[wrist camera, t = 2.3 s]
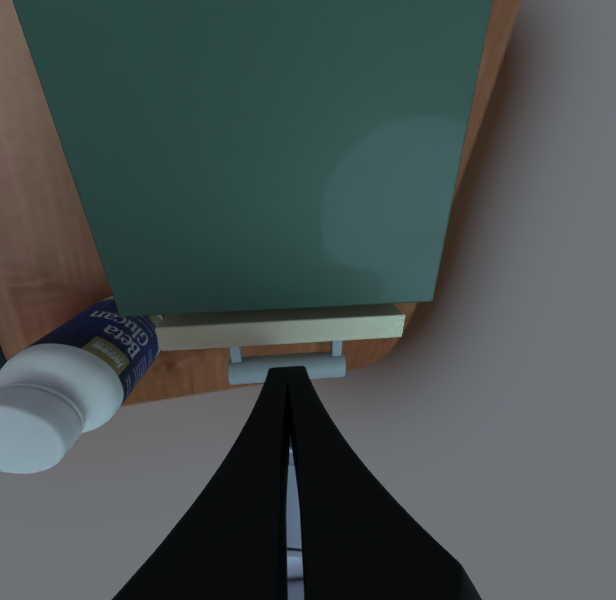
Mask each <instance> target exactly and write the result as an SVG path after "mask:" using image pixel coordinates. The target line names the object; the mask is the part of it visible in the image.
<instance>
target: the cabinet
mask: <svg viewBox="0 0 616 600" xmlns="http://www.w3.org/2000/svg"><path fill="white" fill-rule="evenodd" d="M492 1H493V0H13V3H14V6H15V9H16V12H17V15H18V18H19V21H20V24H21V27H22V30H23V33H24V36H25V39H26V41H27V44H28V47H29V50H30V53H31V56H32V59H33V62H34V65H35V68H36V71H37V74H38V77H39V80H40V83H41V86H42V88H43V91H44V94H45V97H46V100H47V103H48V106H49V109H50V112H51V115H52V118H53V121H54V124H55V127H56V130H57V133H58V135H59V138H60V141H61V144H62V147H63V150H64V153H65V156H66V159H67V162H68V165H69V168H70V171H71V174H72V177H73V180H74V182H75V185H76V188H77V191H78V194H79V197H80V200H81V203H82V206H83V209H84V212H85V215H86V218H87V221H88V224H89V227H90V229H91V232H92V235H93V238H94V241H95V244H96V247H97V250H98V253H99V256H100V259H101V262H102V265H103V268H104V271H105V273H106V276H107V279H108V282H109V285H110V288H111V291H112V294H113V297H114V300H115V303H116V306H117V309H118V312H119V315H120V316H121V317H125V316H146V315H166V314H186V313H207V312H227V311H247V310H268V309H288V308H308V307H329V306H349V305H369V304H390V303H410V302H430V301H432V300H433V296H434V291H435V286H436V281H437V275H438V270H439V266H440V261H441V256H442V250H443V245H444V240H445V236H446V231H447V226H448V221H449V216H450V211H451V206H452V201H453V196H454V191H455V186H456V181H457V176H458V171H459V166H460V161H461V156H462V151H463V146H464V141H465V136H466V131H467V126H468V121H469V116H470V111H471V106H472V101H473V96H474V91H475V86H476V81H477V76H478V71H479V66H480V61H481V56H482V51H483V46H484V41H485V36H486V31H487V26H488V21H489V16H490V11H491V6H492Z"/></svg>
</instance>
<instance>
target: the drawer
mask: <svg viewBox="0 0 616 600" xmlns="http://www.w3.org/2000/svg"><path fill="white" fill-rule="evenodd" d="M404 319H405V314H404V313H403V312H402V311H401V310H400V309H399V308H398V307H397V306H396V305H395V304H394V303H390V304H369V305H349V306H329V307H308V308H288V309H268V310H247V311H227V312H207V313H186V314H167V315H166V316H165V317H164V318H163V319H162V320H161V322H160V323H159V324H158V325H157V326H156V327H155V331H156V334H157V338H158V341H159V345H160V348H161V351H172V350H189V349H206V348H222V347H229V351H230V357H231V358H230V360H229V363H228V380H229V383H230V384H231V385H234V384H248V383H262V382H265V380H266V376H267V373H268V370H269V369H270V368H273V367H288V366H304V367H306V369H307V373H308V375H309V378H310V379H318V378H332V377H344V376H345V373H346V363H345V357H344V353H343V351H342V340H357V339H373V338H390V337H401V336H402V331H403V325H404ZM323 341H331V350H330V351H329V352H313V353H297V354H281V355H265V356H250V357H243V355H242V348H241V346H256V345H273V344H289V343H306V342H323Z"/></svg>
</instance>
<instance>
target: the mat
mask: <svg viewBox="0 0 616 600" xmlns="http://www.w3.org/2000/svg"><path fill="white" fill-rule="evenodd" d="M5 363H6V361H5V358H4V355H3V353H2V350H1V348H0V368H2V367H3V366H4V365H5Z"/></svg>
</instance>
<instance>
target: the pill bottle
mask: <svg viewBox="0 0 616 600" xmlns="http://www.w3.org/2000/svg"><path fill="white" fill-rule="evenodd" d="M162 319H163V317H162V315H146V316H125V317H121V316H120V315H119V312H118V309H117V306H116V303H115V300H114V297H113V296H111V297H108V298H105V299H103V300H101V301H99V302H97V303H96V304H94V305H92V306H91V307H89V308H88V309H86V310H85V311H83V312H82V313H80V314H78V315H77V316H75V317H74V318H72V319H71V320H69V321H68V322H66V323H64V324H63V325H61V326H60V327H58V328H57V329H55V330H54V331H52V332H51V333H49V334H47V335H46V336H44V337H42V338H41V339H39V340H37V341H36V342H35V343H33V344H32V345H30V346H28V347H27V348H25V349H24V350H22V351H21V352H19V353H18V354H17V355H15V356H14V357H12V358H11V359H10V360H9V361H7V362H6V363H5V365H4V366H3V367H2V368H1V370H0V471H3V472H8V473H19V474H26V473H35V472H41V471H44V470H46V469H49V468H51V467H53V466H54V465H56V464H57V463H58V462H59V461H60V460H61V459H62V458H63V457H64V455H65V454H66V453H67V452H68V451H69V449H70V448H71V447H72V446H73V445H74V443H76V441H77V440H78V438H79V437H80V435H81V434H82V433H85V432H89V431H91V430H94V429H96V428H98V427H100V426H102V425H103V424H105V423H106V422H107V421H108V420H110V419H111V418H112V416H113V415H114V414H115V413H116V412H117V411H118V409H119V408H120V407H121V405H122V404H123V403H124V401H125V400H126V398H127V397H128V396H129V394H130V393H131V392H132V390H133V389H134V388H135V386H136V385H137V383H138V382H139V380H140V379H141V378H142V376H143V375H144V374H145V372H146V371H147V370H148V368H149V367H150V366H151V364H152V363H153V361H154V360H155V359H156V357H157V356H158V355H159V353H160V352H161V348H160V345H159V341H158V338H157V334H156V331H155V327H156V326H157V325H158V324H159V323H160V322H161V320H162Z"/></svg>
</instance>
